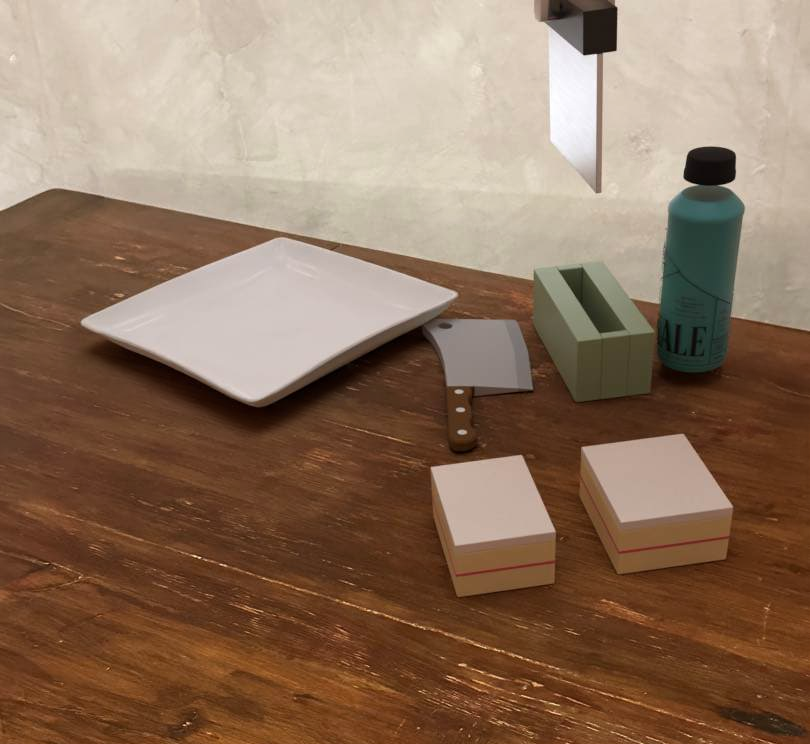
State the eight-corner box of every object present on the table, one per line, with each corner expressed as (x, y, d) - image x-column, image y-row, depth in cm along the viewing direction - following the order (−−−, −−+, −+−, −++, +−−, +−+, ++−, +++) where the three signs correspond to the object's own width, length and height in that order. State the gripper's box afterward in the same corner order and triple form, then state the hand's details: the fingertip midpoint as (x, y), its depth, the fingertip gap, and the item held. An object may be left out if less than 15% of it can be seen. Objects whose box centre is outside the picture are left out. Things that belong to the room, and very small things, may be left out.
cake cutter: (566, 138, 86) (565, -29, 79) (614, 191, 76) (618, 6, 69) (538, 142, 86) (534, -24, 79) (583, 195, 76) (583, 11, 69)
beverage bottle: (721, 354, 105) (748, 136, 93) (730, 389, 99) (759, 163, 87) (650, 354, 105) (667, 138, 93) (655, 389, 100) (674, 165, 88)
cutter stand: (599, 317, 112) (602, 260, 109) (650, 393, 100) (655, 331, 96) (532, 325, 112) (533, 268, 108) (575, 402, 99) (577, 341, 96)
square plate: (464, 324, 113) (463, 288, 110) (258, 438, 97) (251, 399, 95) (285, 261, 128) (280, 228, 126) (82, 351, 113) (73, 315, 111)
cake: (678, 483, 88) (683, 432, 86) (726, 559, 80) (734, 506, 77) (578, 496, 88) (580, 446, 85) (617, 575, 80) (620, 522, 77)
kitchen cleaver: (546, 441, 93) (425, 441, 93) (545, 452, 93) (425, 452, 93) (522, 315, 112) (422, 315, 112) (521, 324, 113) (422, 325, 113)
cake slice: (522, 504, 87) (522, 454, 84) (555, 584, 79) (556, 531, 76) (432, 516, 87) (430, 466, 84) (456, 598, 79) (454, 545, 76)
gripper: (416, -217, 63) (429, 44, 72) (763, -247, 65) (737, 10, 73) (399, -221, 69) (413, 23, 77) (722, -250, 70) (701, -8, 79)
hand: (574, 16), depth 75 cm, fingers closed on cake cutter, 2 cm apart
